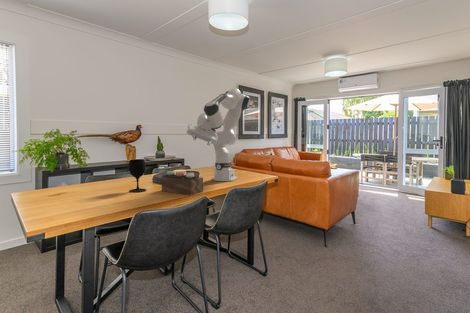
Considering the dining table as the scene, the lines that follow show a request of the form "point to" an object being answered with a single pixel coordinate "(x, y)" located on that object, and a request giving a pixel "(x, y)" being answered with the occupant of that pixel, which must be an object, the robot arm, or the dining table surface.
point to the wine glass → (137, 172)
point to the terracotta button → (179, 173)
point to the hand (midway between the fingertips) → (201, 141)
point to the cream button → (189, 175)
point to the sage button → (170, 173)
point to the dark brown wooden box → (182, 184)
